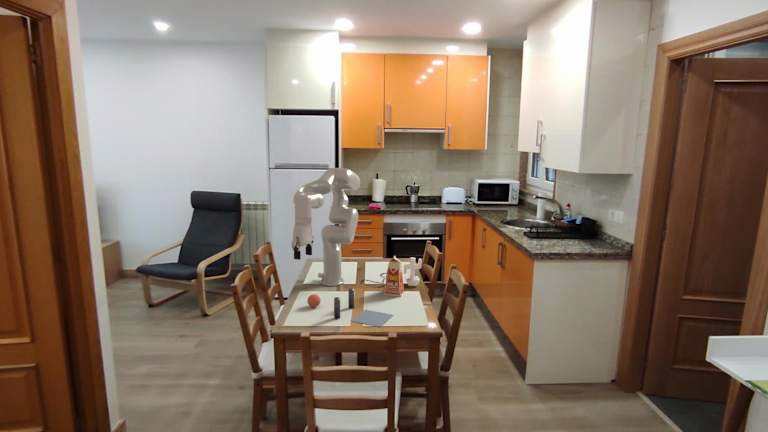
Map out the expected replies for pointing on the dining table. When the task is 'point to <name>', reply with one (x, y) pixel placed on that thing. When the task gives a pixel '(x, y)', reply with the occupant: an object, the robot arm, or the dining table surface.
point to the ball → (313, 300)
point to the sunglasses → (377, 282)
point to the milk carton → (394, 278)
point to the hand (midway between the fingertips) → (303, 257)
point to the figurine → (412, 272)
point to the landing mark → (372, 318)
